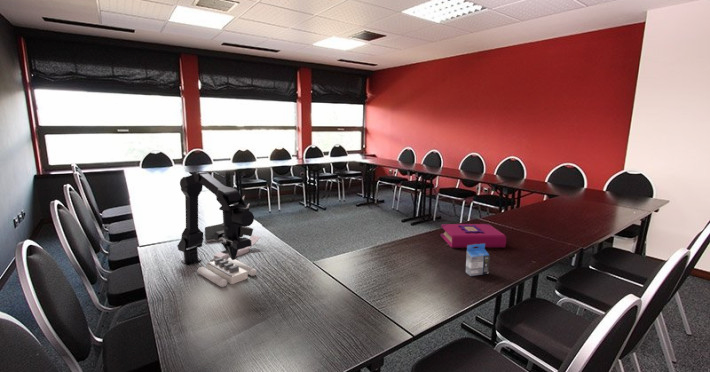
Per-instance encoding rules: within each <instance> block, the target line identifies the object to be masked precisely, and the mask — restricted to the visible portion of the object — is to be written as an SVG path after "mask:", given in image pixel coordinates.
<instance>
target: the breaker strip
mask: <svg viewBox="0 0 710 372" xmlns="http://www.w3.org/2000/svg"><path fill="white" fill-rule="evenodd" d="M206 269H208V270H210V271H211V272H213V273H215V274H216V275H218V276H220V277H222V278H223V279H225V280H226V281H227V283H229V284H230V285H235V284H236V283H239V282H242V281H245V280H246V279H248V278H249V274H248V273H247V271H246V270H244V269H242V268H240V267H239V266H238V265H234V263H232V262H229V261H228V260H224V258H222V257H221V258H217V259H214V260H213V261H207V262H206Z"/></svg>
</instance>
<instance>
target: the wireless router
mask: <svg viewBox="0 0 710 372" xmlns="http://www.w3.org/2000/svg"><path fill="white" fill-rule="evenodd" d="M242 199H243V200H244V201H245V195H243V196H242ZM249 207H250V203H248V204H247V205H246V207H245V208H249ZM249 209H250V208H249ZM221 225H223V223H220V224H214V225H208V226H205V227H204V237H205V238H204V239H205V240H206V241H207V242H209V243H210V242H217V241H223V239H222V238H223V237H221V238H219V240H215V239H214V234H215V233H216V232H218V231H223V230H224V228H222V227H221Z"/></svg>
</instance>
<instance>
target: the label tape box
mask: <svg viewBox="0 0 710 372" xmlns="http://www.w3.org/2000/svg"><path fill="white" fill-rule="evenodd" d="M476 246H477V247H479V248H473V247H476ZM465 255H466V256H465V257H466V260H465V273H466V274H467V275H468V276H470V277H474V276H475V277H476V276H481V275H488V274H489V272H490V257H491V256H490V254H489V252H488V251H487V250H486V248H485V244H475V245H467V248H466V254H465Z"/></svg>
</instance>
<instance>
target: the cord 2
mask: <svg viewBox="0 0 710 372" xmlns="http://www.w3.org/2000/svg"><path fill="white" fill-rule="evenodd" d="M228 261H229V262H232V263H234V265H238V266H239V267H240V268H242V269H244V270H246V271H247V273H248V276H251V277H254V276H256V275H257V269H255V268H253V267H252V266H249V265H248V264H246V263H244V262H242V261H239V260H237V259H236V258H235V260H232V259H231V258H228Z"/></svg>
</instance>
